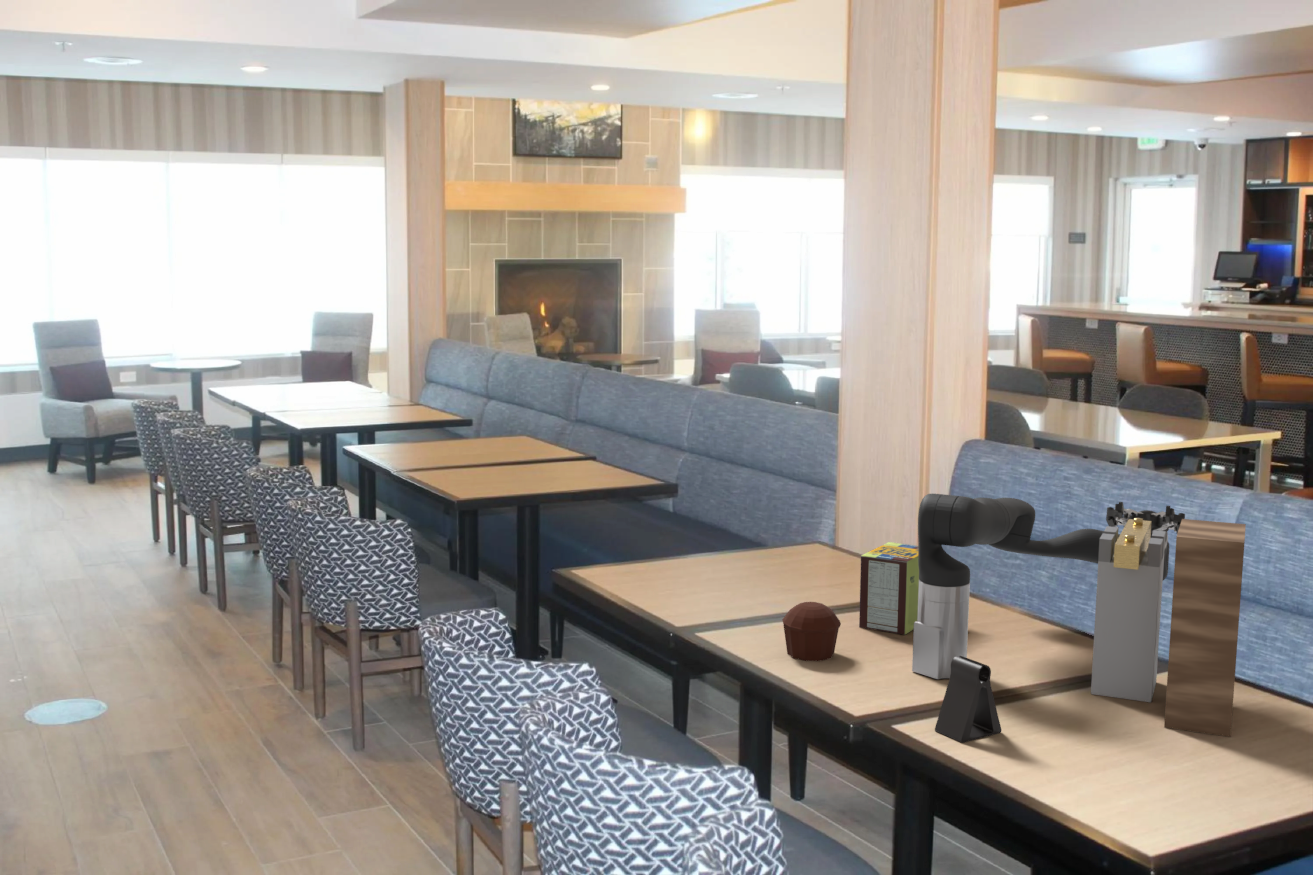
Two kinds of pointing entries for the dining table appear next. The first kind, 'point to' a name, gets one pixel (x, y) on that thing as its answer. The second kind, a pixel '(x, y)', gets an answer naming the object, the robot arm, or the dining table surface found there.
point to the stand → (1204, 626)
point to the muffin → (811, 631)
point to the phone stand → (968, 703)
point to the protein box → (889, 588)
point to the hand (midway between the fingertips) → (1143, 508)
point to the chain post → (1127, 621)
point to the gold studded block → (1132, 544)
